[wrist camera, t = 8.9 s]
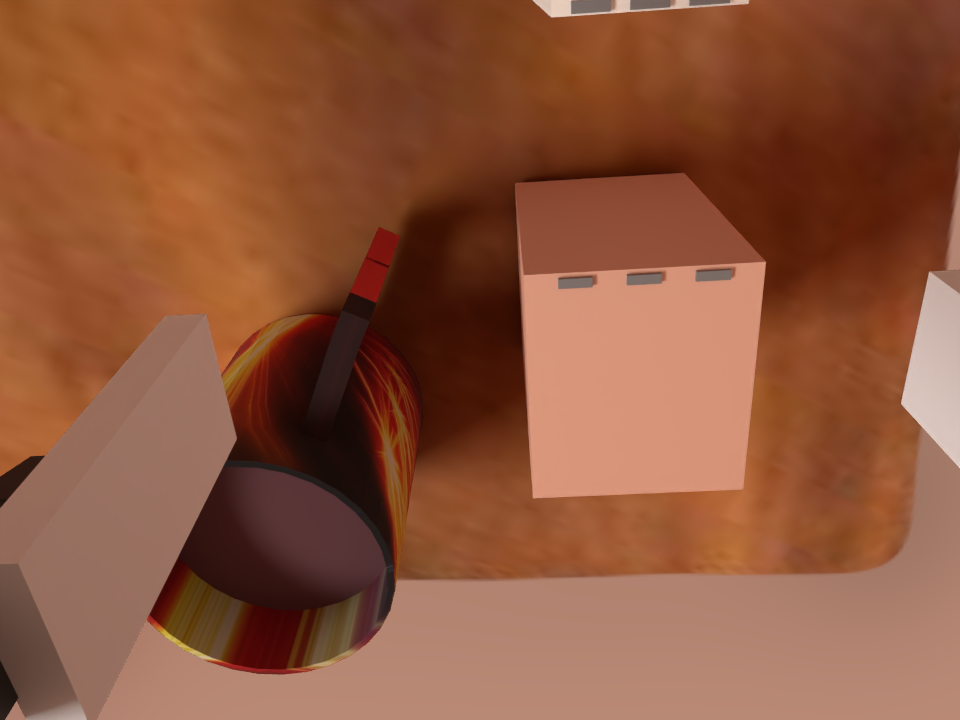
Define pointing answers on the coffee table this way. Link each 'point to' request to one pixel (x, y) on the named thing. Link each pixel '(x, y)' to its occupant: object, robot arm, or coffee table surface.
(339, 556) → the mug
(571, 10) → the two-tone box
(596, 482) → the stub
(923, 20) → the coffee table surface
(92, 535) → the robot arm
